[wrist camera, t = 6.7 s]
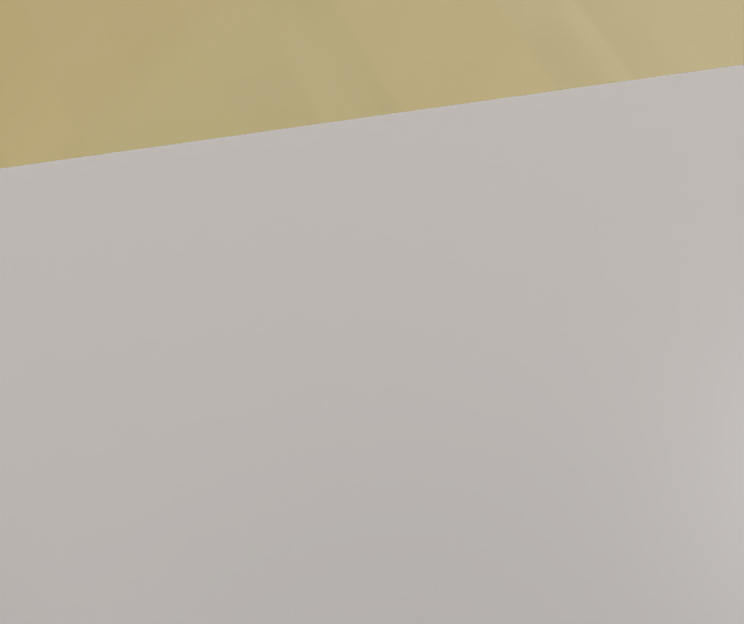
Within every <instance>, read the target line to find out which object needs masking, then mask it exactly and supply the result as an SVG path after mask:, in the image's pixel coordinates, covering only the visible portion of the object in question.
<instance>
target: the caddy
mask: <svg viewBox="0 0 744 624" xmlns="http://www.w3.org/2000/svg"><path fill="white" fill-rule="evenodd" d="M0 624H744V65H737V66H730V67H723V68H716V69H709V70H701V71H694V72H687V73H680V74H673V75H666V76H659V77H651V78H644V79H637V80H630V81H623V82H616V83H609V84H601V85H594V86H587V87H580V88H573V89H566V90H558V91H551V92H544V93H537V94H530V95H523V96H516V97H508V98H501V99H494V100H487V101H480V102H473V103H465V104H458V105H451V106H444V107H437V108H430V109H423V110H415V111H408V112H401V113H394V114H387V115H380V116H372V117H365V118H358V119H351V120H344V121H337V122H330V123H322V124H315V125H308V126H301V127H294V128H287V129H280V130H272V131H265V132H258V133H251V134H244V135H237V136H229V137H222V138H215V139H208V140H201V141H194V142H187V143H179V144H172V145H165V146H158V147H151V148H144V149H136V150H129V151H122V152H115V153H108V154H101V155H94V156H86V157H79V158H72V159H65V160H58V161H51V162H43V163H36V164H29V165H22V166H15V167H8V168H1V169H0Z"/></svg>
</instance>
